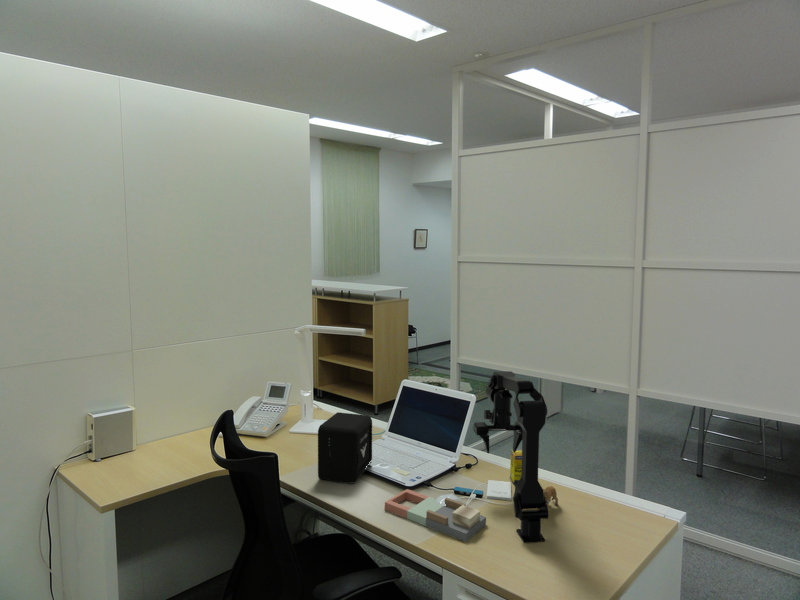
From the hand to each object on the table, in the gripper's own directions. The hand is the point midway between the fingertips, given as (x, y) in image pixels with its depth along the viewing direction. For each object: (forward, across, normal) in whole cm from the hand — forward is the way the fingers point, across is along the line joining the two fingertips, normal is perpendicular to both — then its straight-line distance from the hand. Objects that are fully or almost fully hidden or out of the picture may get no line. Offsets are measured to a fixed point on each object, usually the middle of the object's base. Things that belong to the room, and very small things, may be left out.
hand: (500, 452), depth 181 cm
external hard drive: (+15, 0, -2) cm, 15 cm away
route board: (+14, +25, +14) cm, 32 cm away
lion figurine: (+15, -12, +13) cm, 23 cm away
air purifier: (+15, +52, -21) cm, 58 cm away
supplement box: (+15, -10, -9) cm, 20 cm away
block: (+12, +17, +22) cm, 30 cm away
